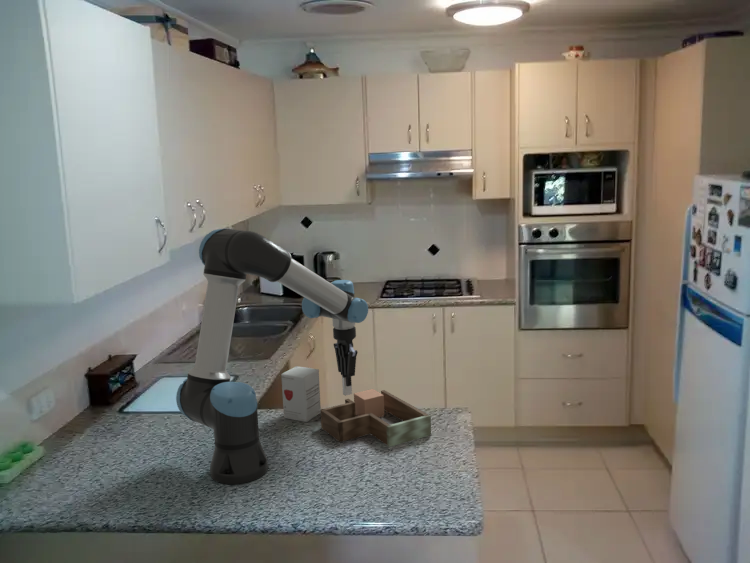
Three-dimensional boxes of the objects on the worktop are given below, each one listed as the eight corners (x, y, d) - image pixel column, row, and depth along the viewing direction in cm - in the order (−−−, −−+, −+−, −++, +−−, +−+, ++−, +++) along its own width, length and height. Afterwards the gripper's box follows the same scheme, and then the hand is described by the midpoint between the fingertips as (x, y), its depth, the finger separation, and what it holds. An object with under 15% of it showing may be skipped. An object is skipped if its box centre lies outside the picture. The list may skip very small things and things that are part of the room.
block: (365, 421, 213) (364, 399, 211) (354, 414, 218) (353, 393, 217) (384, 416, 216) (383, 395, 215) (373, 409, 222) (372, 388, 221)
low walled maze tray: (389, 447, 193) (388, 427, 192) (345, 417, 216) (345, 399, 215) (431, 435, 200) (430, 415, 199) (384, 407, 223) (384, 389, 222)
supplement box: (282, 418, 217) (279, 373, 214) (298, 408, 225) (295, 365, 222) (306, 422, 213) (303, 377, 210) (321, 412, 220) (319, 368, 218)
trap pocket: (339, 442, 197) (338, 422, 196) (321, 428, 208) (320, 409, 207) (372, 433, 203) (371, 414, 202) (352, 420, 213) (351, 402, 212)
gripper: (363, 328, 221) (366, 397, 226) (345, 321, 232) (348, 386, 237) (343, 332, 217) (346, 402, 222) (325, 324, 229) (328, 391, 233)
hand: (347, 394), depth 229 cm, fingers closed
